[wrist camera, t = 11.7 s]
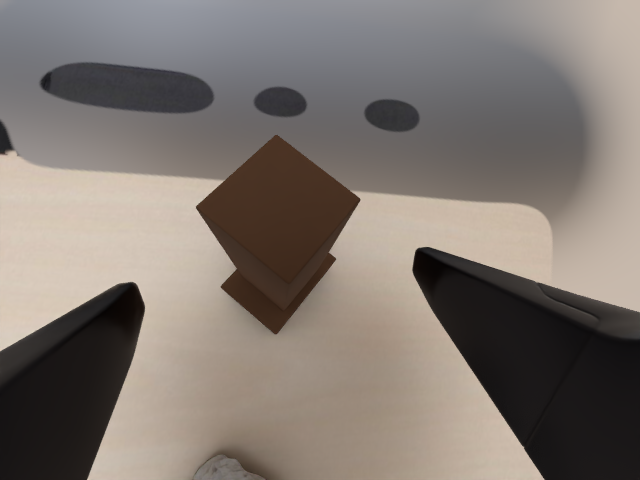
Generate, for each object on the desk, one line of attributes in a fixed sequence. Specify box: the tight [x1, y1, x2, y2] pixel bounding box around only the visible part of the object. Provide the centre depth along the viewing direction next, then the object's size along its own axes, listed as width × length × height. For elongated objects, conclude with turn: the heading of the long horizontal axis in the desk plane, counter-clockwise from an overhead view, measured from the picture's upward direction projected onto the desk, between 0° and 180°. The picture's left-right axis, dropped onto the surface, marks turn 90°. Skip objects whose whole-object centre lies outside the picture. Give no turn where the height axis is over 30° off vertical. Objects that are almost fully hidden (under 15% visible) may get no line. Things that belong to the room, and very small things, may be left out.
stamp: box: [196, 135, 360, 334], centre depth 14 cm, size 6×4×13 cm
